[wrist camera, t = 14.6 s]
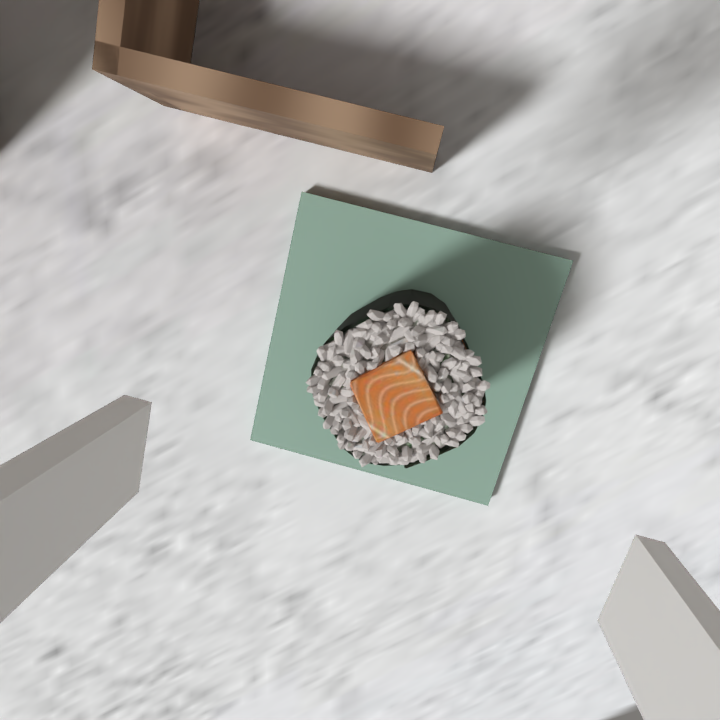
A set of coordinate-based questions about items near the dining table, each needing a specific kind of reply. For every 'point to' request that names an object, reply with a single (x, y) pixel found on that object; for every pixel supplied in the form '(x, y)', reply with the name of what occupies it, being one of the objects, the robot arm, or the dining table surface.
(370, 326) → the sushi
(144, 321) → the dining table surface
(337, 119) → the frame
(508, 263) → the mat
